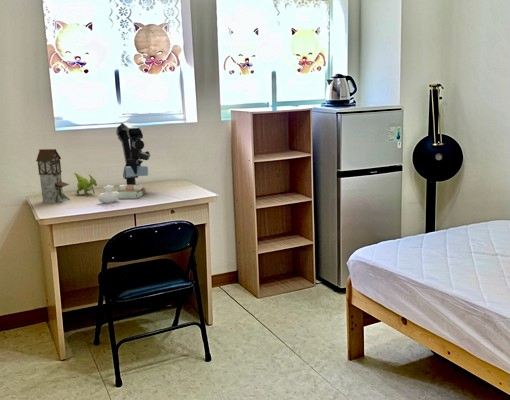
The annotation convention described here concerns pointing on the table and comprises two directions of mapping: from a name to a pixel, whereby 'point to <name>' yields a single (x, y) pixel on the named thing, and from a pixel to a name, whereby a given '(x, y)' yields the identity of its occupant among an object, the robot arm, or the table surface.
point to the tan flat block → (133, 191)
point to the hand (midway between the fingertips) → (137, 173)
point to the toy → (85, 184)
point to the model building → (51, 176)
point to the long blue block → (140, 171)
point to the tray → (129, 195)
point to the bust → (108, 195)
